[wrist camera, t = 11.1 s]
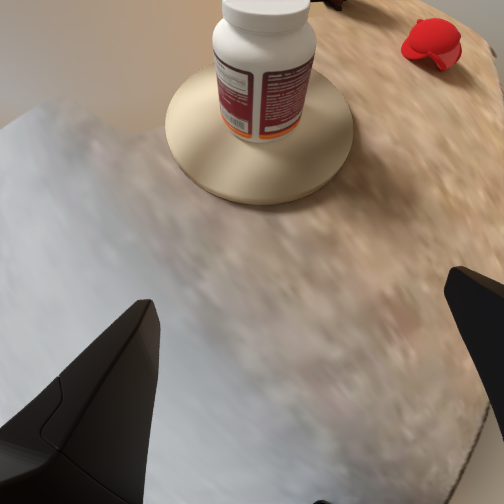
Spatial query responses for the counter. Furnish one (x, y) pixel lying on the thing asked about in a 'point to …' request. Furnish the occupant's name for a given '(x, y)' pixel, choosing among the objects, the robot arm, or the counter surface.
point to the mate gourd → (332, 3)
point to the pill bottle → (263, 66)
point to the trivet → (258, 144)
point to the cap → (433, 42)
